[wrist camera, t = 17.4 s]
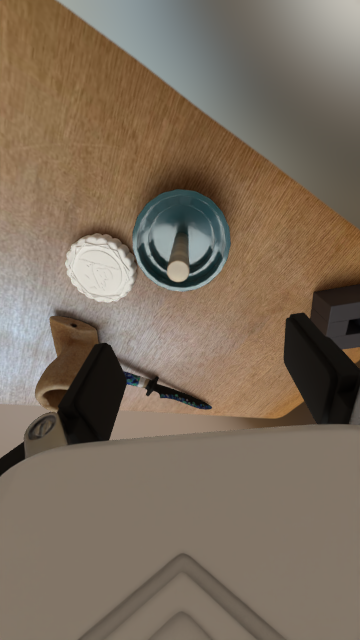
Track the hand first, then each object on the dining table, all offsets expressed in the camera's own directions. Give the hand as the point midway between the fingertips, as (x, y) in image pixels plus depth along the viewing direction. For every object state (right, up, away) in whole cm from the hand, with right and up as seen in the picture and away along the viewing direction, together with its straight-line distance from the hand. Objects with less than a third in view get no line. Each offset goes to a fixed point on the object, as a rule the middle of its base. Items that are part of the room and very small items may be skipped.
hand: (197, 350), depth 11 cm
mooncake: (-15, +12, +28) cm, 34 cm away
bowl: (-1, +16, +25) cm, 30 cm away
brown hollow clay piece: (-23, -4, +38) cm, 45 cm away
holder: (+31, +4, +32) cm, 44 cm away
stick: (-1, +15, +25) cm, 29 cm away
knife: (-5, -15, +45) cm, 48 cm away
